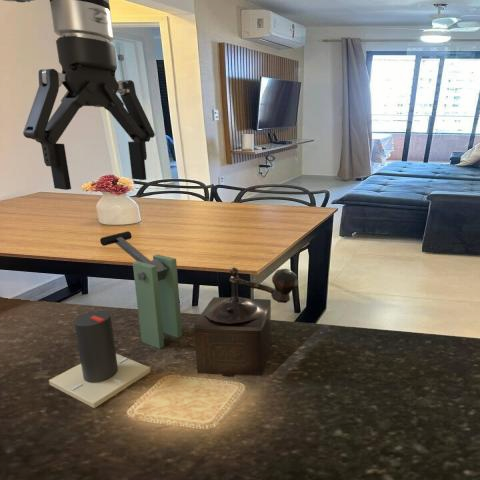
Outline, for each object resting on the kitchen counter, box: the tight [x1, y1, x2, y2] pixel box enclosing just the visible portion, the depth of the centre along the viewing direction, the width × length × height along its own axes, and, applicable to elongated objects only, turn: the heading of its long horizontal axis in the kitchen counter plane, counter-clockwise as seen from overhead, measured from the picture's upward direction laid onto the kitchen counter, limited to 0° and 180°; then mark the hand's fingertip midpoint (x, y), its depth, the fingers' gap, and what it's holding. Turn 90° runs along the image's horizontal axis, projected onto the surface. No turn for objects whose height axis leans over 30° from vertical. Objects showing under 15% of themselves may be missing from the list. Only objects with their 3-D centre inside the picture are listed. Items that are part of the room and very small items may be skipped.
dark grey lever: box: [99, 230, 168, 281], centre depth 65 cm, size 12×5×2 cm, turn 61°
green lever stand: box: [132, 253, 183, 350], centre depth 65 cm, size 10×9×16 cm
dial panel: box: [48, 353, 152, 409], centre depth 56 cm, size 10×9×2 cm
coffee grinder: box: [193, 267, 299, 378], centre depth 60 cm, size 16×11×18 cm
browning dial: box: [73, 310, 118, 383], centre depth 55 cm, size 4×4×9 cm
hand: (104, 183), depth 62 cm, fingers open, 13 cm apart
